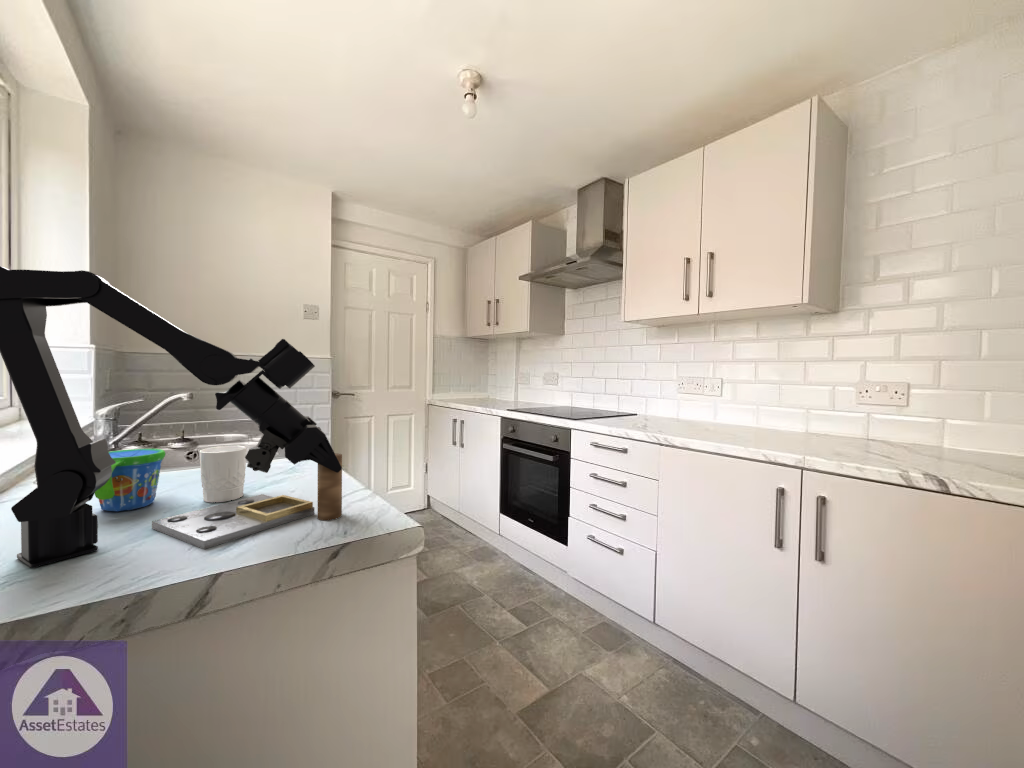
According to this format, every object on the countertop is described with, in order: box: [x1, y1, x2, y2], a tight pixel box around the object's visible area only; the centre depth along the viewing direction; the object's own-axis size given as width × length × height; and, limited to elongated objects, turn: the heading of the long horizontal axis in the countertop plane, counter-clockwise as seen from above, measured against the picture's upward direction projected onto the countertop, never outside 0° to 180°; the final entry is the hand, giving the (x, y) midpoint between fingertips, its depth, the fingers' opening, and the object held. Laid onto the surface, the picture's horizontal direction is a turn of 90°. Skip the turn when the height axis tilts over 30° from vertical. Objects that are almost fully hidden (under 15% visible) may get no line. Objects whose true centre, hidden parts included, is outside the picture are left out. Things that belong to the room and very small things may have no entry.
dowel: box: [316, 452, 343, 521], centre depth 76 cm, size 4×4×11 cm
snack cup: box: [94, 448, 166, 512], centre depth 80 cm, size 16×10×10 cm
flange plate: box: [151, 493, 315, 550], centre depth 73 cm, size 18×16×2 cm
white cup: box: [199, 445, 248, 504], centre depth 86 cm, size 8×8×10 cm
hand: (338, 468), depth 76 cm, fingers closed on dowel, 4 cm apart
